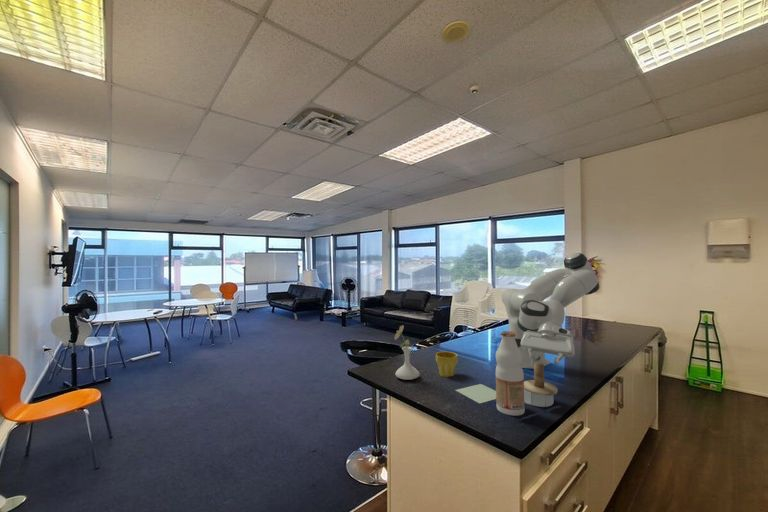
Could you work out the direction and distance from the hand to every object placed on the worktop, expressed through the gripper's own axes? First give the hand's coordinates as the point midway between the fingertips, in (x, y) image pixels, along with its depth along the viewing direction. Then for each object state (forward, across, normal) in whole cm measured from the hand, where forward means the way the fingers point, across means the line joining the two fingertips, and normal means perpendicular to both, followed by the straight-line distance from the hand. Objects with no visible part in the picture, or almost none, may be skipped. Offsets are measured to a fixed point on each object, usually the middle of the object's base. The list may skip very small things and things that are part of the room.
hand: (543, 361), depth 125 cm
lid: (+13, +1, -2) cm, 13 cm away
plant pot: (+15, -40, +3) cm, 43 cm away
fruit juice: (+27, -4, -9) cm, 29 cm away
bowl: (+17, 0, +1) cm, 17 cm away
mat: (+22, -19, -5) cm, 30 cm away
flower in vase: (+26, -53, -8) cm, 59 cm away
